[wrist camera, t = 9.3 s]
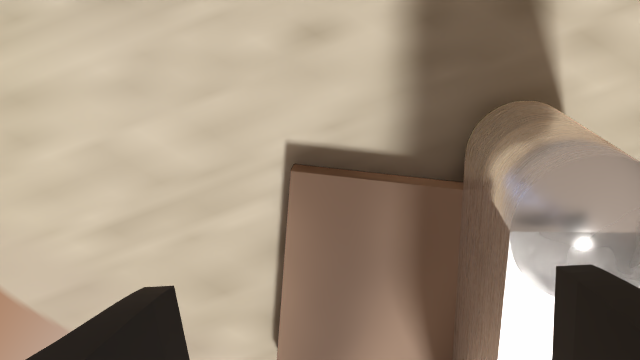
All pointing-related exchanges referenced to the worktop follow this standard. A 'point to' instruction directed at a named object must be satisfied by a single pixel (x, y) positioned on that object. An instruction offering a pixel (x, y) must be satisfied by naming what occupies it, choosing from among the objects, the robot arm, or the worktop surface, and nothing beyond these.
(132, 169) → the worktop surface
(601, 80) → the worktop surface
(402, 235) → the walnut board
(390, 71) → the worktop surface
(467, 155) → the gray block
